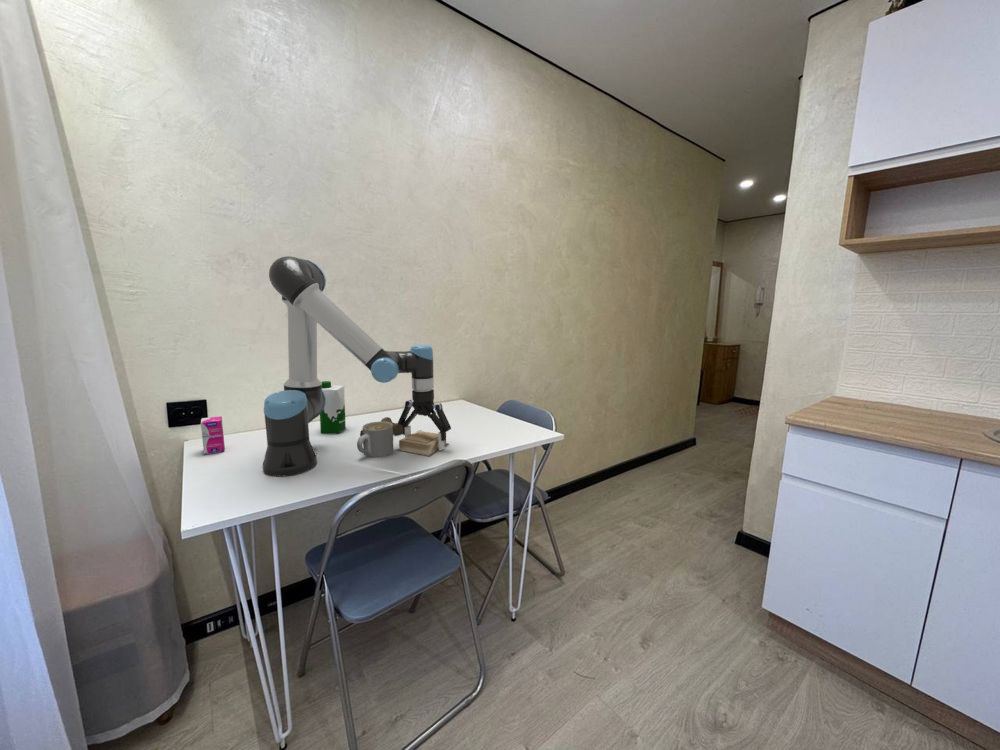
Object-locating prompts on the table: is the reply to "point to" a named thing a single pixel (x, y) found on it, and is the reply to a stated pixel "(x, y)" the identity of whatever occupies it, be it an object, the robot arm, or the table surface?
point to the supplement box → (212, 435)
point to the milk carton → (333, 409)
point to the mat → (422, 454)
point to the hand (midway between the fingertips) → (424, 446)
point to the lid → (420, 443)
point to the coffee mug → (376, 439)
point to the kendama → (396, 427)
